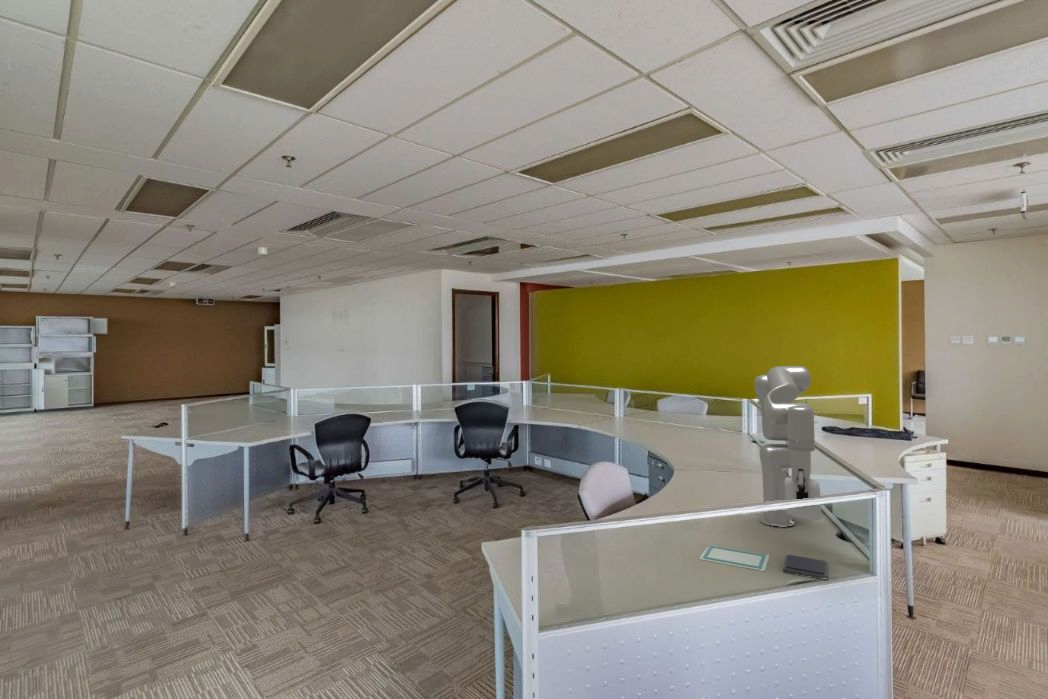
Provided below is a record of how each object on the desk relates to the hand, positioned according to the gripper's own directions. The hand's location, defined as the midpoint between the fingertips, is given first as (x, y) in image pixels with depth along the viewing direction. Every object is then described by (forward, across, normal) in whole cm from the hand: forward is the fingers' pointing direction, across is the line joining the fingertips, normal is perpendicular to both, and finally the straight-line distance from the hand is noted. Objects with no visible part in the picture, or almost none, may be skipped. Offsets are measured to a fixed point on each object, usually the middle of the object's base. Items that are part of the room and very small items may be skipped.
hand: (803, 501), depth 161 cm
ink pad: (+21, 0, 0) cm, 21 cm away
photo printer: (+5, 0, 0) cm, 5 cm away
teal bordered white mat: (+21, +1, -21) cm, 30 cm away
